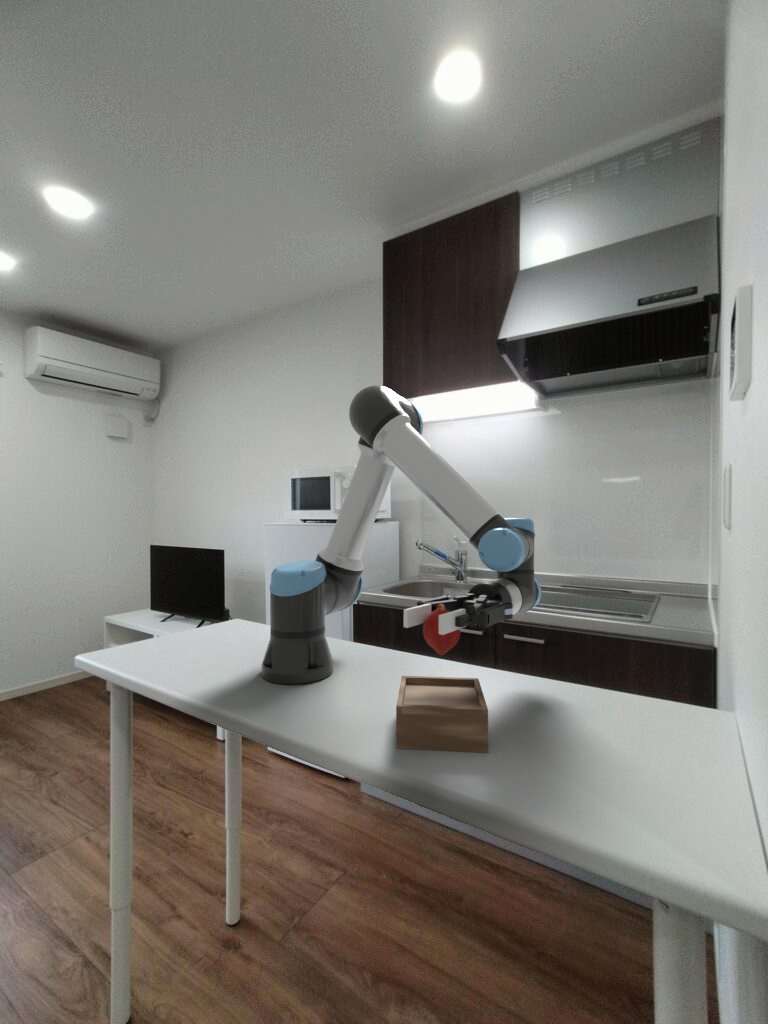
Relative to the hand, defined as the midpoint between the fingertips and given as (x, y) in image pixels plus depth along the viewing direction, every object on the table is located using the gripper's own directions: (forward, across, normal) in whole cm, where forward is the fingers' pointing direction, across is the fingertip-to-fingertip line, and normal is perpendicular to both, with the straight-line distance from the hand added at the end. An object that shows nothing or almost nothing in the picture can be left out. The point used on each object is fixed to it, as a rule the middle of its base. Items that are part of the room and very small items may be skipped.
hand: (422, 621), depth 67 cm
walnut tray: (-5, 0, -18) cm, 18 cm away
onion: (-5, 0, -6) cm, 8 cm away
